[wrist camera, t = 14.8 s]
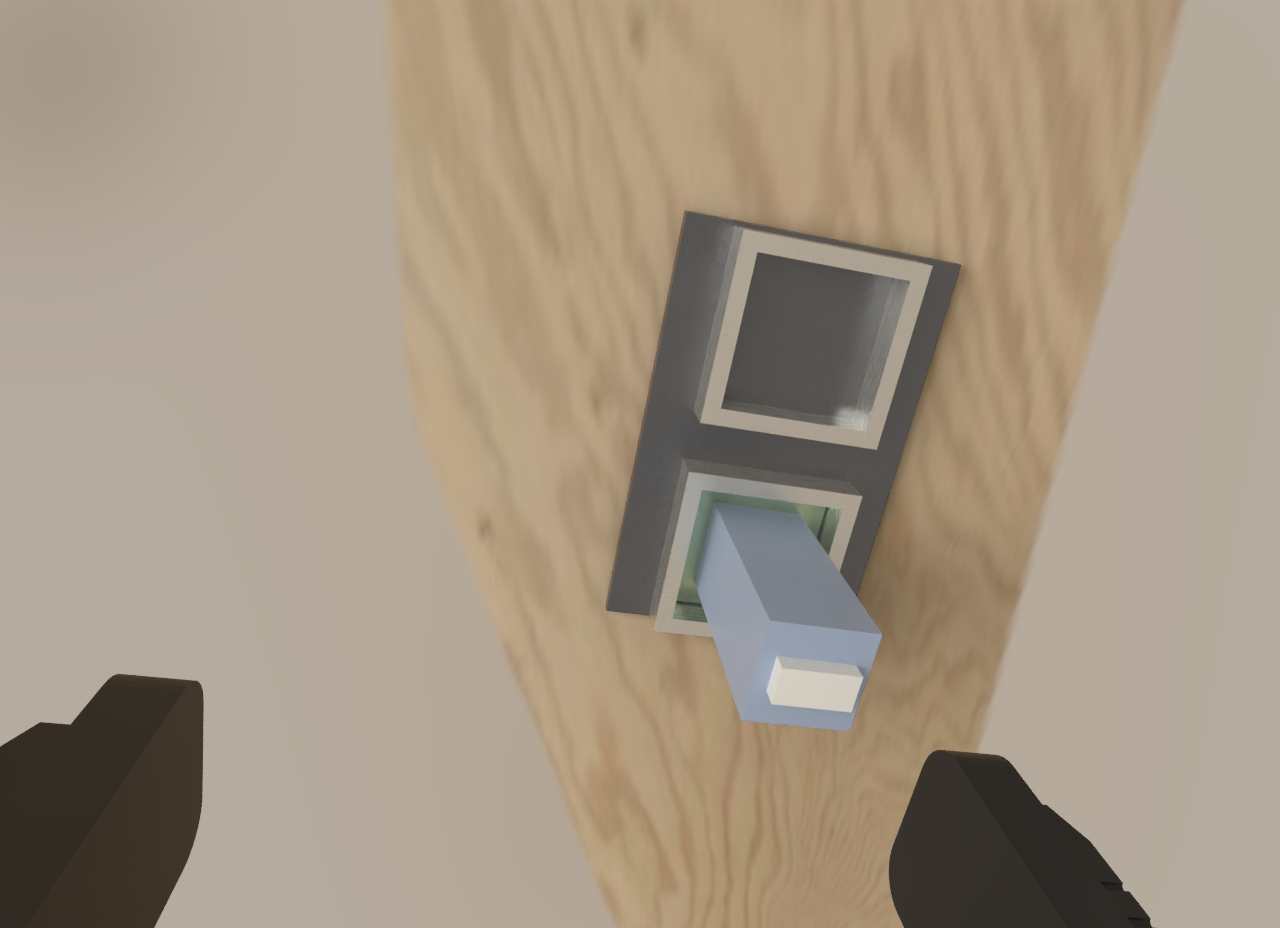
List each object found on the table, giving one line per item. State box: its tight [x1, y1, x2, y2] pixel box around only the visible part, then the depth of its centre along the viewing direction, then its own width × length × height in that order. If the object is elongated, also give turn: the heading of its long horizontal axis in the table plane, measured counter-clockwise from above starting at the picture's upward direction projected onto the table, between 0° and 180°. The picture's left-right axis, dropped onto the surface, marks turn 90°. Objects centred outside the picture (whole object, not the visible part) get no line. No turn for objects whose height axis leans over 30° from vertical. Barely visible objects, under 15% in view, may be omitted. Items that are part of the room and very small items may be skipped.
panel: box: [606, 210, 961, 637], centre depth 39 cm, size 20×13×2 cm, turn 169°
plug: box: [694, 502, 883, 731], centre depth 36 cm, size 4×4×12 cm
